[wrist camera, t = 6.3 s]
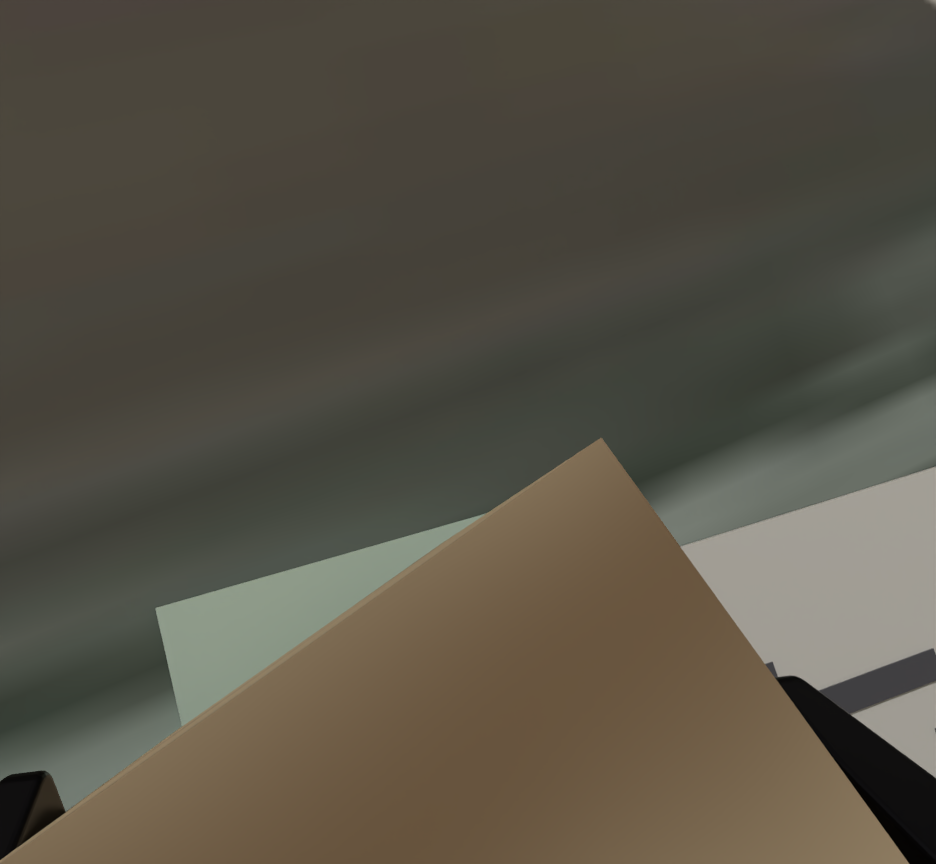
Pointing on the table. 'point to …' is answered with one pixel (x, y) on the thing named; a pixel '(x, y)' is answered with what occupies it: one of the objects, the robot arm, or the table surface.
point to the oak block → (499, 720)
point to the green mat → (273, 616)
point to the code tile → (844, 602)
